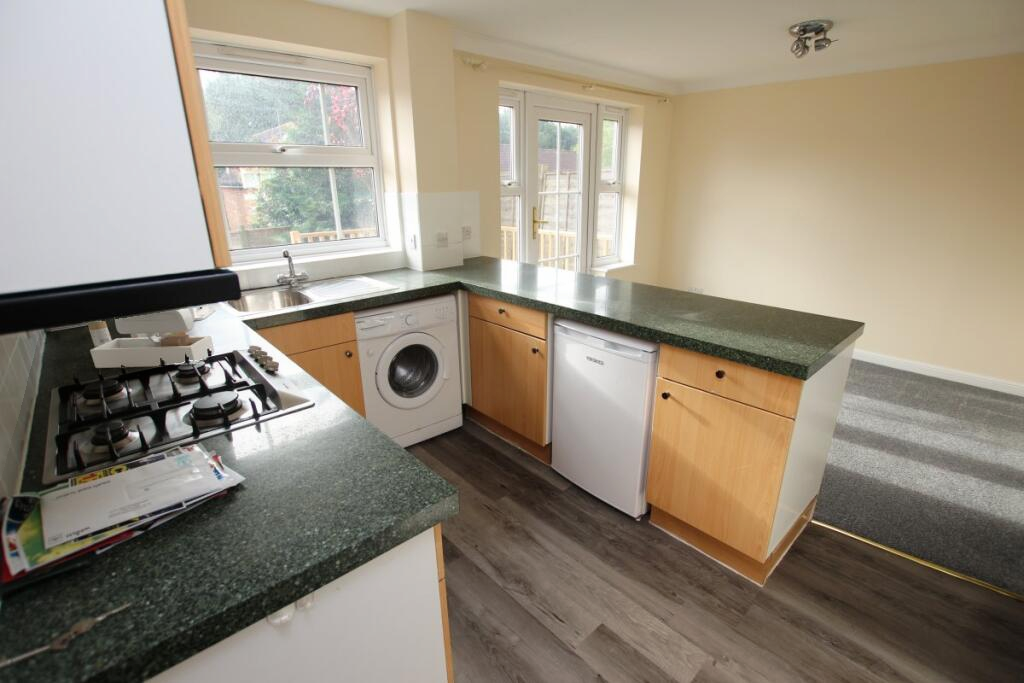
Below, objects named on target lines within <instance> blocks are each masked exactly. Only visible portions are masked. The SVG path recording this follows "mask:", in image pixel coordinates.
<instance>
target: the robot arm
mask: <svg viewBox="0 0 1024 683" xmlns="http://www.w3.org/2000/svg"><path fill="white" fill-rule="evenodd" d="M216 310H217V309H216V308H215V307H211V306H209V305H208V306H206V307H199V308H190V309H188V308H187V309H180V310H173V311H166V312H160V313H153V314H147V315H140V316H133V317H127V318H119V319H115V318H114V323H115V328H116V332H118V333H119V334H120V335H131V334H144V333H146V335H147V337H148V338H149V339H150V340H151V341H152V342H153V345H154V347H162V345H161V341H160V340H159V339H158V338H157V337H156V336H155V335H156V333H159V336H162V337H161V340H162V339H164V338H166V337H168V335H169V333H182V332H185V333H188V332H190V331H192V330H194V329H193V328H194V327H195V324H194V321H202V320H205V319H206V318H207V317H208V316H210V315H211V314H213V313H214V312H215V311H216Z"/></svg>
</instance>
